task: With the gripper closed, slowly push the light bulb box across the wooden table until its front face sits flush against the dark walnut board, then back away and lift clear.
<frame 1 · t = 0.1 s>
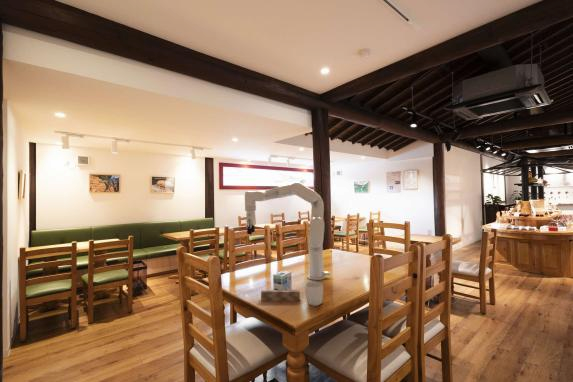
hand: (251, 233, 188), 31 cm above the table, tool pointing down, fingers open, 9 cm apart
walnut board: (280, 300, 146), on the table
light bulb box: (282, 291, 160), on the table
mug: (315, 302, 143), on the table
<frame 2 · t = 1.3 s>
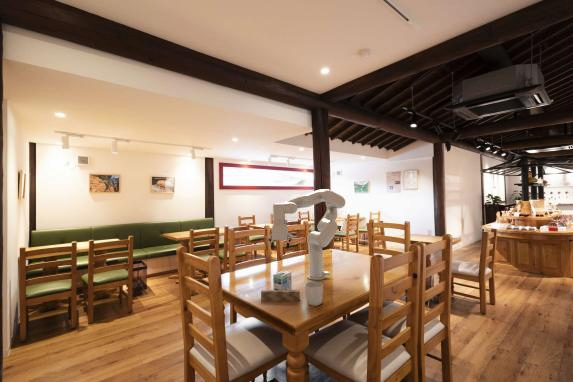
hand: (280, 248, 173), 23 cm above the table, tool pointing down, fingers open, 9 cm apart
nothing on the table moved.
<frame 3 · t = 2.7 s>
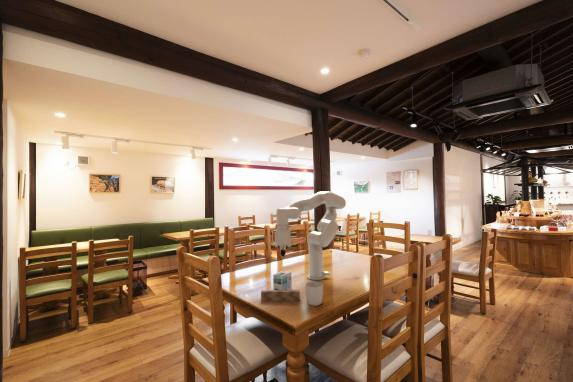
hand: (283, 256, 171), 18 cm above the table, tool pointing down, fingers closed
nothing on the table moved.
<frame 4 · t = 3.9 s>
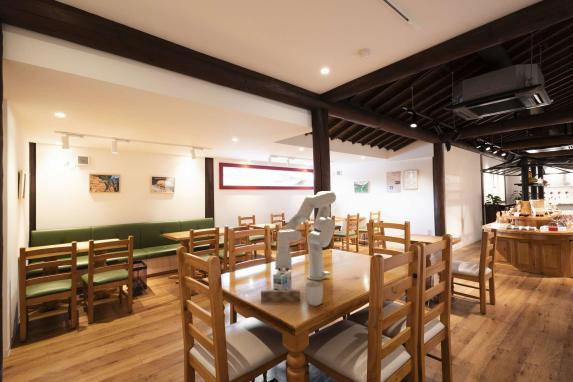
hand: (283, 278, 171), 4 cm above the table, tool pointing down, fingers closed
nothing on the table moved.
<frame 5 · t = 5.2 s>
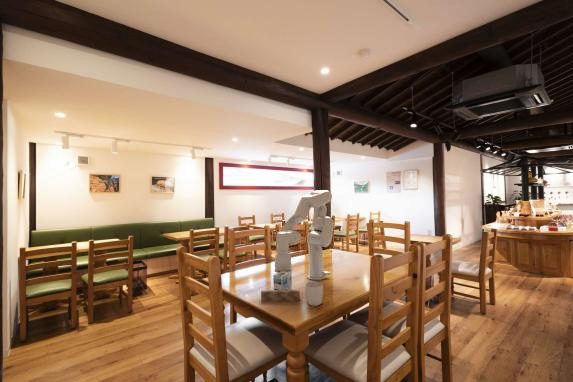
hand: (283, 281, 167), 4 cm above the table, tool pointing down, fingers closed
light bulb box: (282, 291, 159), on the table, touching gripper
everything else where it was.
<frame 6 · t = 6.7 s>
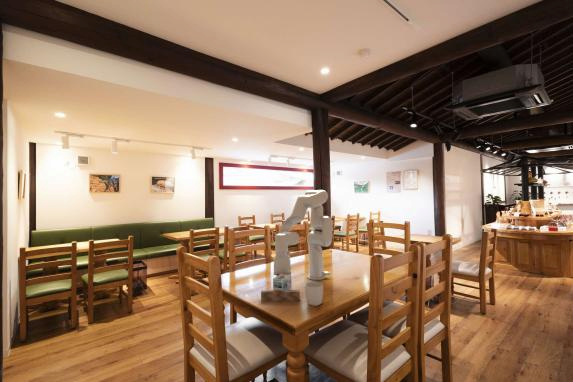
hand: (282, 284, 161), 4 cm above the table, tool pointing down, fingers closed
light bulb box: (282, 295, 153), on the table, touching gripper, walnut board
everything else where it was.
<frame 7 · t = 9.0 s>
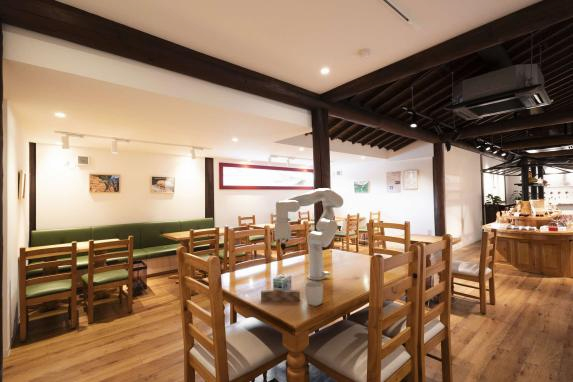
hand: (283, 249, 168), 23 cm above the table, tool pointing down, fingers closed
light bulb box: (282, 295, 153), on the table
everything else where it was.
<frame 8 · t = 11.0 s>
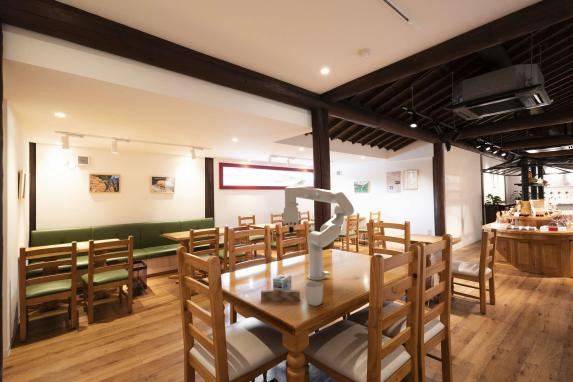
hand: (291, 232, 178), 32 cm above the table, tool pointing down, fingers closed
nothing on the table moved.
at the end: light bulb box 0.7 cm from the target spot on the table beside the walnut board, on the table; light bulb box tilted 0° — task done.
